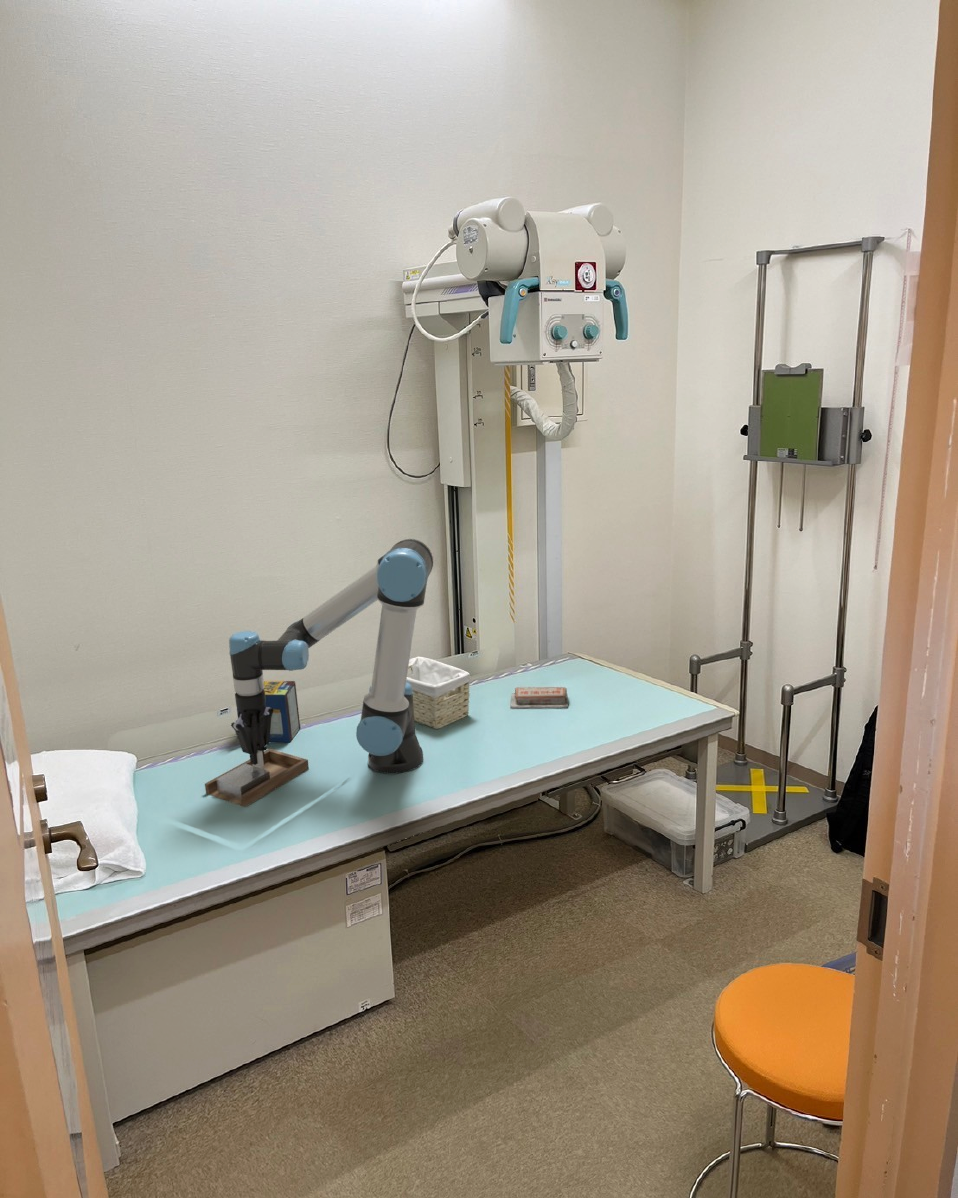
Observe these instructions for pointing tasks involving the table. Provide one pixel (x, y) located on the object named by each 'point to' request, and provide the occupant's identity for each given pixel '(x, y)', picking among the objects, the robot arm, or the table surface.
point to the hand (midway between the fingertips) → (259, 773)
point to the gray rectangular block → (241, 780)
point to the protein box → (282, 710)
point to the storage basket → (438, 692)
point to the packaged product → (539, 697)
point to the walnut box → (280, 773)
